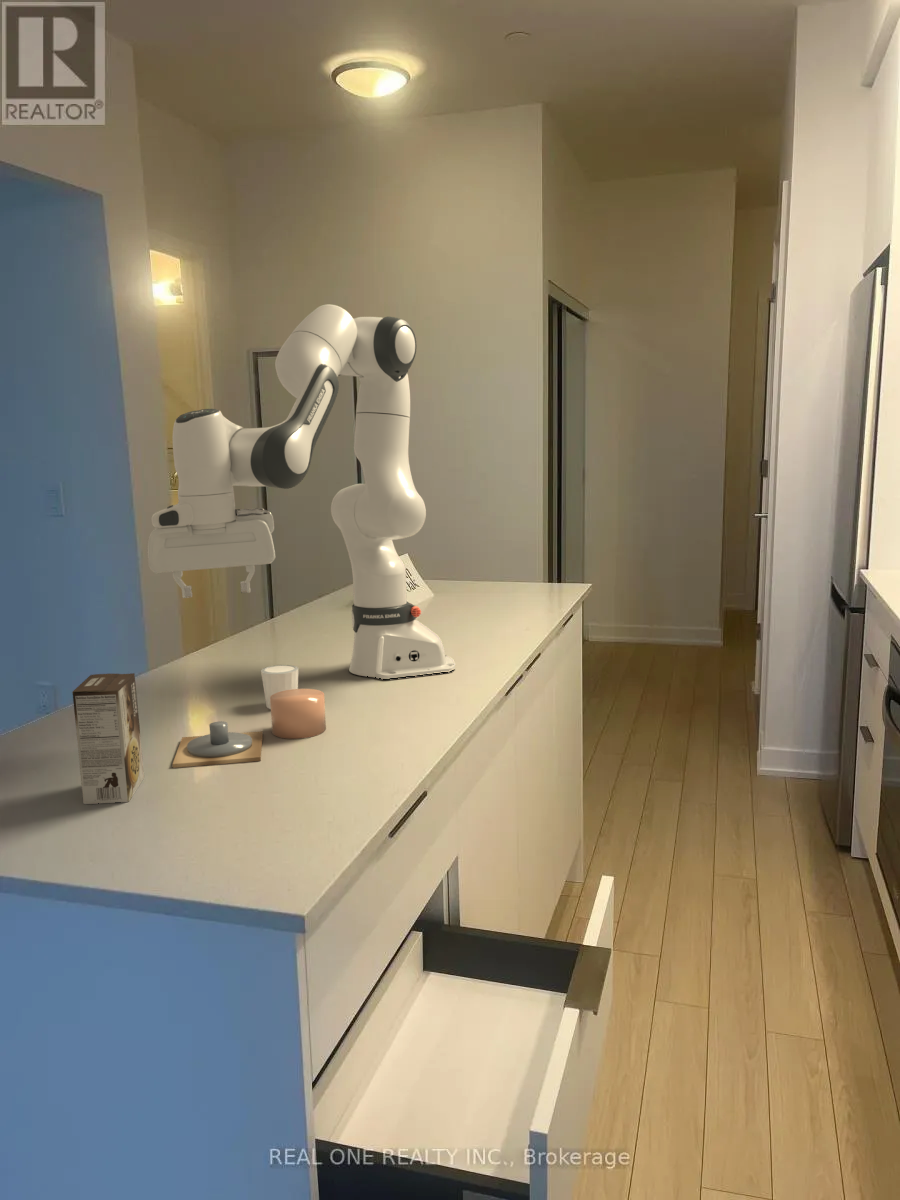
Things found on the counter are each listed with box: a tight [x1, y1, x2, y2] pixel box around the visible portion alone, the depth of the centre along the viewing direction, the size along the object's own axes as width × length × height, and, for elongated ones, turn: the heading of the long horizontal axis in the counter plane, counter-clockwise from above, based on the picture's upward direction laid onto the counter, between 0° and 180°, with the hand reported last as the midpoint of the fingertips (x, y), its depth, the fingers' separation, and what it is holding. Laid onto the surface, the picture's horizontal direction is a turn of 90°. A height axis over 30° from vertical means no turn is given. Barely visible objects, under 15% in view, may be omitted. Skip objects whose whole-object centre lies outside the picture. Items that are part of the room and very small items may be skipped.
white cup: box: [260, 664, 299, 710], centre depth 170 cm, size 7×7×7 cm
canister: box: [270, 688, 327, 740], centre depth 155 cm, size 9×9×6 cm
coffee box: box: [71, 672, 145, 805], centre depth 129 cm, size 9×6×16 cm
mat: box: [172, 730, 264, 768], centre depth 147 cm, size 13×13×1 cm
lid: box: [187, 720, 252, 758], centre depth 146 cm, size 10×10×4 cm
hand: (216, 594), depth 153 cm, fingers open, 8 cm apart
